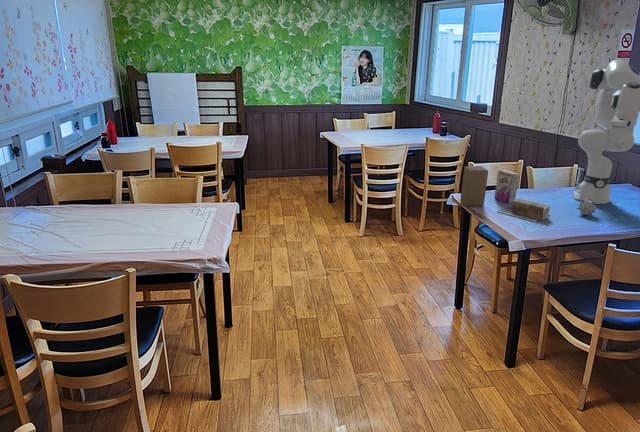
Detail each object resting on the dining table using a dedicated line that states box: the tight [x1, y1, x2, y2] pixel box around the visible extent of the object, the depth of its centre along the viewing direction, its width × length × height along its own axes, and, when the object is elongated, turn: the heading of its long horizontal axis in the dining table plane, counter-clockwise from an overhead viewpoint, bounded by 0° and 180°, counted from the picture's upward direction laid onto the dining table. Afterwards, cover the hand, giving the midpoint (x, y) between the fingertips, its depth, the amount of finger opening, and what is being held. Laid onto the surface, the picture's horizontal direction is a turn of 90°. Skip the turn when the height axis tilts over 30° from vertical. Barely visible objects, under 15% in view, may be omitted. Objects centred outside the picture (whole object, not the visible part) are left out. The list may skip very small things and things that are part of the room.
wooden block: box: [460, 165, 489, 207], centre depth 243 cm, size 10×10×20 cm
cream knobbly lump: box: [576, 199, 599, 217], centre depth 229 cm, size 9×8×10 cm
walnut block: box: [511, 198, 551, 221], centre depth 228 cm, size 6×6×16 cm
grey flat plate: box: [496, 204, 551, 223], centre depth 231 cm, size 20×16×1 cm
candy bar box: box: [493, 169, 520, 204], centre depth 249 cm, size 11×5×16 cm, turn 22°
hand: (618, 150), depth 210 cm, fingers closed
